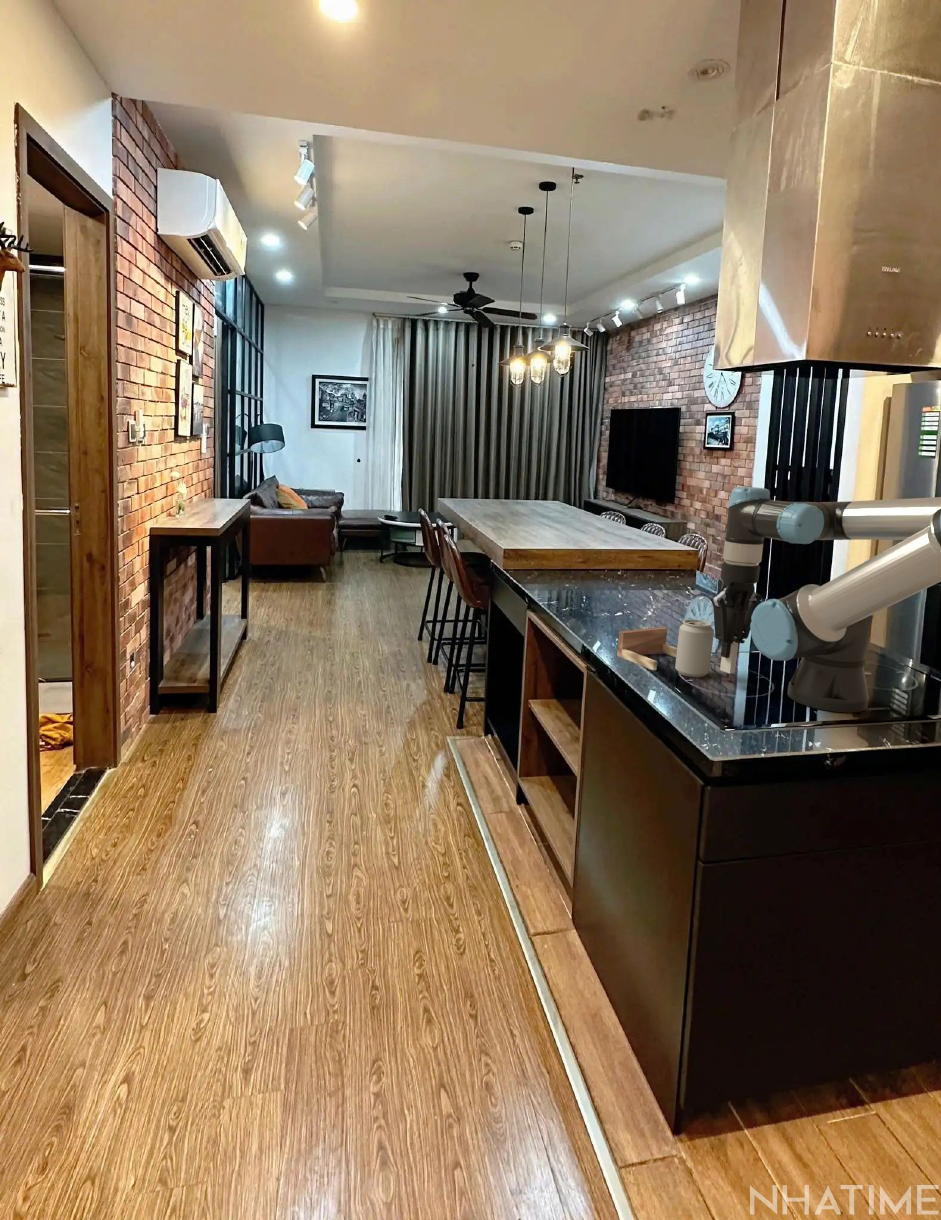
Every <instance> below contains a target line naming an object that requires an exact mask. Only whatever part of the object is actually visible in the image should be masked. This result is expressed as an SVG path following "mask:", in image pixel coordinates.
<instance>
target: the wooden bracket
mask: <svg viewBox="0 0 941 1220" xmlns="http://www.w3.org/2000/svg"><path fill="white" fill-rule="evenodd" d="M667 636H668V628H667V627H664V626H660V627H652V628H651V627H650V628H642V629H641V628H640V629H632V630H622V631H619V632H618V643H617V651H616V652H617V653H616V657H619V658H621V659H624V660H627V661H629V662H632V663H635V665H639V666H642V667H644V668H646V669H649V670H651V671H657V669H658V668H657V667H658V661H657V660H654V659H652V658H649V657H647V656H645V655H650V654H651V655H652V654H659V653H663V654H666V655H668V656H671V657H674V658H676V656H677V647H675V646H672V645H670V644H667Z"/></svg>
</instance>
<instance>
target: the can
mask: <svg viewBox="0 0 941 1220" xmlns="http://www.w3.org/2000/svg"><path fill="white" fill-rule="evenodd" d="M712 625H713V624H712V623H711V622H710V621H707V620H704V619H703V620H702V619H695V618H694V619H692V618H690V619H684V620H683V621H682V624H681V625H680V626H679V629H678V638H677V639H678V640H677V647H676V648H677V656H676V657H675V666H674V668H675V670H676V671H677V673H678V674H680V675H682V676H684V677H690V678H702V677H703V678H704V677H705V676H706V675H708V674H710V668H711V661H712V660H711V659H712V654H713V653H712V652H713V645H714V644H713V643H714V637H715V629H714V628H713V627H712Z"/></svg>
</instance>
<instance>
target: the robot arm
mask: <svg viewBox="0 0 941 1220" xmlns="http://www.w3.org/2000/svg"><path fill="white" fill-rule="evenodd" d="M770 495H771V492H770V490H769V488H768V489H767V488H764V487H754V486H753V487H752V486H736V487H734V488H733V489H732V490H731V493H730V497H729V503H728V506H727V509H728V511H727V522H726V531H725V537H724V540H725V541H724V546H723V555H722V559H723V560H724V561H723V562H722V563H721V568H720V576H719V578H720V579H721V580H722V585H721V587H720V593H718V594H717V595H716V596H715V595H712V596H711V597H710V601H711V605H712V607H713V609H712V610H713V623H714V625H713V626H714V637H715V639H716V640H718V641H721V650H720V651H721V652H720V657H721V660H720V667H719V670H720V671H722V672H724V673H727V674H730V675H731V674H736V665H737V658H738V656H739V652H740V650H739V649H740V644H744V643H745V640H747V639H748V638H749V635H751V638H752V641H753V644H754V646H755V647H756V649H757V650H758V651H759V652H760V653H761V654H762V655H763V656H765V657H766V658H768V659H770V660H772V661H783V662H786V661H790V660H795V659H801V660H800V662H799V664H798V666H797V668H796V670H795V672H794V674H793V675H792V678H791V680H790V681H789V682H788V687H787V696H788V698H790V700H793V701H794V702H796V703H798V704H801V705H804V706H806V707H809V708H813V709H816V710H817V709H818V710H821V711H822V710H823V711H828V712H834V713H860V712H863V711H865V710H867V709H868V705H869V701H870V700H869V699H870V695H869V692H868V691H869V690H868V685H867V680H866V679H867V678H866V674H865V663H866V659H867V652H868V646H869V640H870V634H871V628H872V624H873V619H874V616H875V614H877V613H879V612H881V611H883V610H885V609H887V608H888V607H890V606H893V605H895V604H897V603H899V602H901V601H903V600H905V599H908V598H909V597H912V596H913V595H915V594H919V593H920V592H921V591H924V590H926V589H928V588H930V587H933V586H935V585H937V584H938V583H940V582H941V496H937V497H916V498H913V497H912V498H896V499H895V498H893V499H875V500H874V499H873V500H870V499H869V500H855V501H852V500H851V501H850V500H849V501H827V502H826V501H822V502H821V501H819V502H816V501H813V502H812V501H786V500H785V501H783V500H774V499H771V497H770ZM765 538H767V539H772V540H778V541H781V542H782V541H783V542H788V543H789V544H802V545H808V544H811V543H813V542H814V541H852V540H854V541H855V540H857V541H858V540H860V541H861V540H863V541H865V540H867V541H868V540H871V541H872V540H873V541H874V540H877V541H878V540H879V541H880V540H881V541H900V542H898V543H896V544H895V545H893V546H891V547H889V548H888V549H885V550H884V551H882V552H880V553H878V554H877V555H875V556H872V557H871V558H869V559H868V560H866V561H864V562H862V563H860V564H858V565H857V566H855V567H854V568H853V567H852V568H851V569H850V570H848V571H846V572H844V573H843V574H841V575H839V576H837V577H835V578H833V579H831V580H829V581H828V582H826V583H824V584H822V585H819V584H812V583H811V584H806V585H804V586H802V587H800V588H798V589H797V590H795V591H793V592H792V593H790V594H788V595H786V596H784V597H780V598H771V599H767V600H764V601H762V602H761V600H762V599H763V596H762V594H759V593H757V592H756V591H755V590H756V588H755V584H757V583H758V582H759V579H760V578H759V576H760V571H761V566H760V563H761V562H762V559H763V557H762V556H763V549H764V541H765ZM744 639H745V640H744Z"/></svg>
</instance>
